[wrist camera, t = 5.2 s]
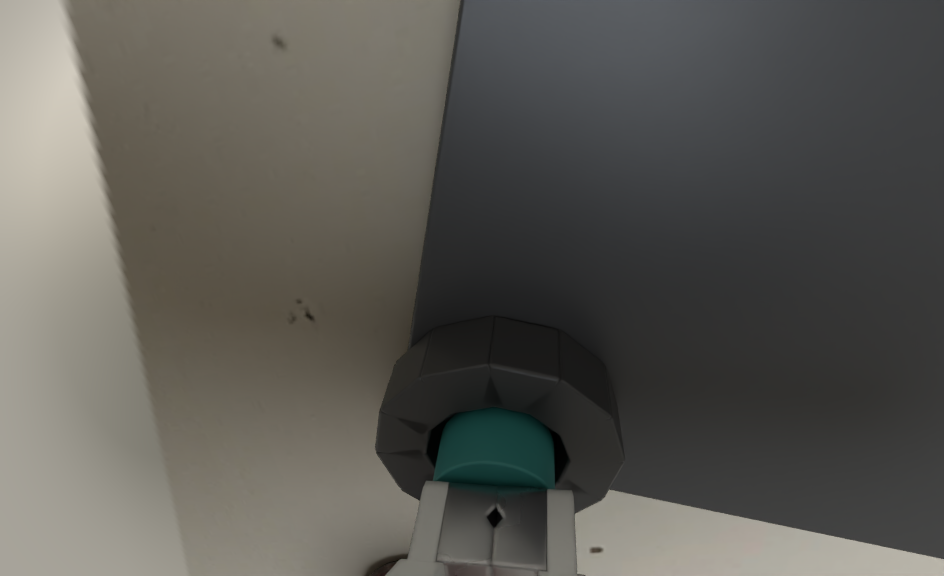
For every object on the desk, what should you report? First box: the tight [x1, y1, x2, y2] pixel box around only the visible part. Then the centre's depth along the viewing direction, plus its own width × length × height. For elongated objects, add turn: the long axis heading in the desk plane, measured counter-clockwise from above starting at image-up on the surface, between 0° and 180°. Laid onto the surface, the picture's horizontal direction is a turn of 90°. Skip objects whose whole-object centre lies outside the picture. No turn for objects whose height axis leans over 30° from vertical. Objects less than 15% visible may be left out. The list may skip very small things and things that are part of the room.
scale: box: [375, 0, 944, 559], centre depth 11 cm, size 16×14×3 cm
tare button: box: [433, 407, 555, 490], centre depth 12 cm, size 3×3×2 cm
